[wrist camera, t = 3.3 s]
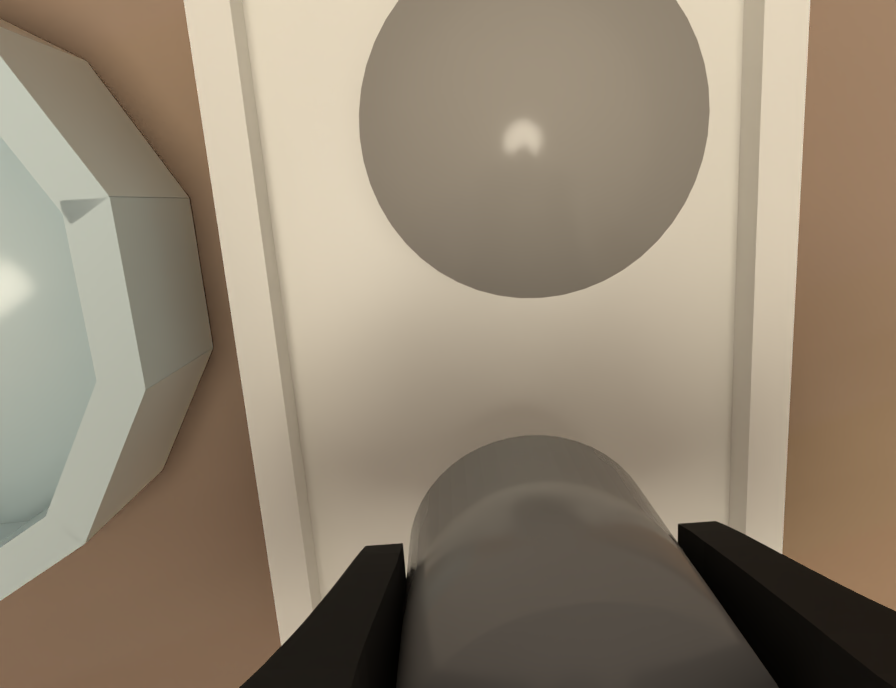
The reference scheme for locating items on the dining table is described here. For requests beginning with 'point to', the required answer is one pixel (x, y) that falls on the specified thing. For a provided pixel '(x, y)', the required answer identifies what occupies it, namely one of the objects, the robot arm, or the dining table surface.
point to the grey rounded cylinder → (533, 135)
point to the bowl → (85, 307)
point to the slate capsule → (557, 582)
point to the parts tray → (490, 299)
